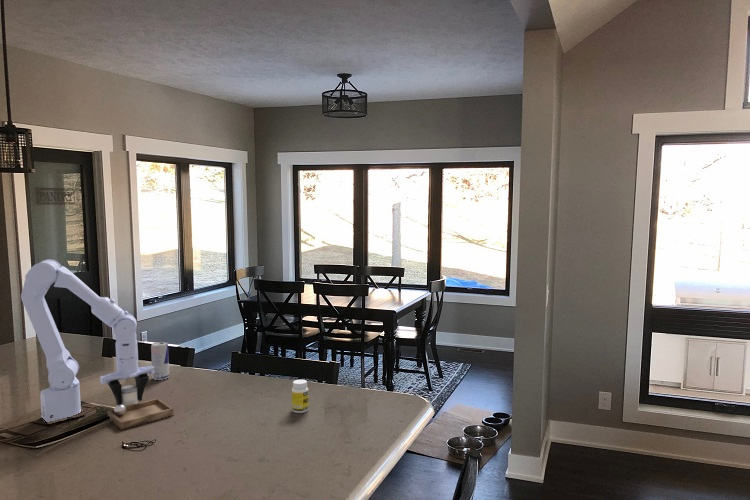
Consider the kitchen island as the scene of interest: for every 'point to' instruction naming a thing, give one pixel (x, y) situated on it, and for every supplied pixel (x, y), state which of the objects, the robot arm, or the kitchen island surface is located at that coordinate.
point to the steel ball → (120, 410)
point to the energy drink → (160, 360)
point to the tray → (141, 413)
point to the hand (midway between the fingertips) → (129, 402)
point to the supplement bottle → (300, 396)
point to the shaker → (129, 395)
